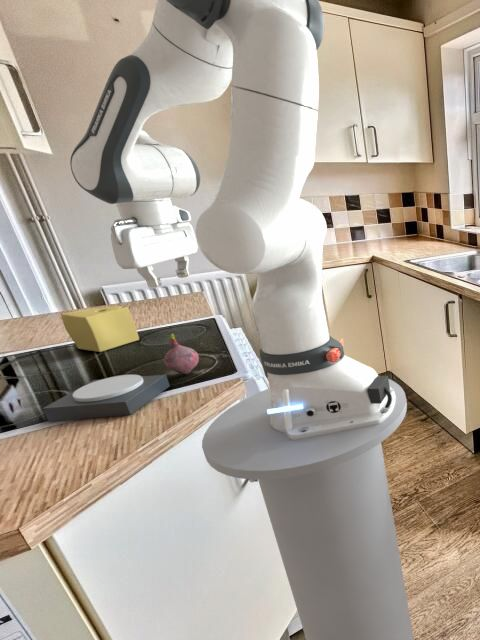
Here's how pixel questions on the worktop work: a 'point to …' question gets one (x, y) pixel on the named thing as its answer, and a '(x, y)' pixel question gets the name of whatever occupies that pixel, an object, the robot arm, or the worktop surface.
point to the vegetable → (180, 357)
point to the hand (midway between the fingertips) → (170, 281)
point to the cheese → (100, 327)
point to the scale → (107, 397)
